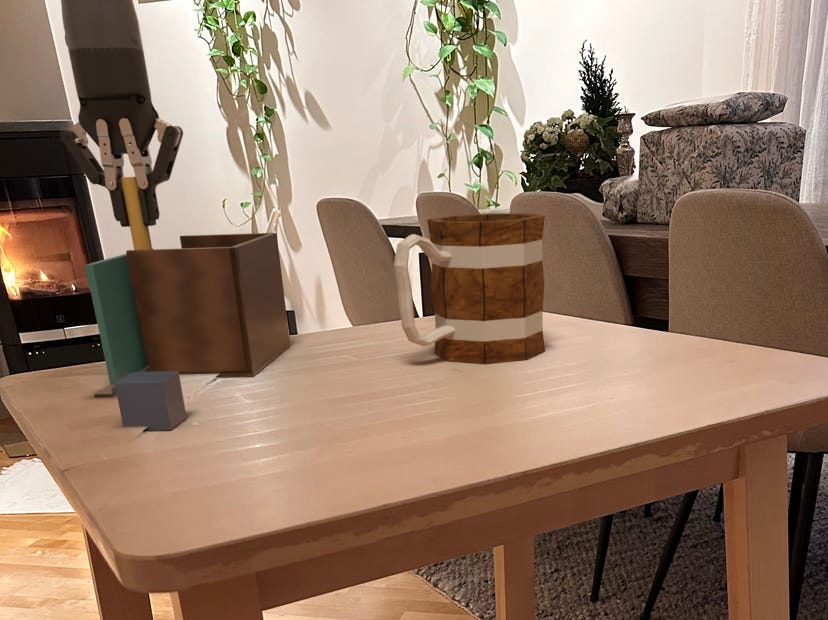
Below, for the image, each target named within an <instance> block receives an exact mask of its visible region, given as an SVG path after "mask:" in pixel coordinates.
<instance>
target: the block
mask: <svg viewBox="0 0 828 620" xmlns="http://www.w3.org/2000/svg"><path fill="white" fill-rule="evenodd" d="M114 384H115V389H116V394H117V395H116V398H117V402H118V408H119V413H120V418H121V422H122V427H123V428H137V427H138V428H139V427H141V428H142V427H143V428H144V427H145V428H144V429H143V430H142V432H155V431H156V432H160V431H161V432H164V431H167V432H168V431H173V429H175V428H176V427H178V426H179V425H180V424H181V423H182V422H183V421H185V420H186V419H187V418H188V417H187V412H186V406H185V401H184V400H185V399H184V394H183V389H182V382H181V377H180V375H179V372H178V371H158V372H132V373H130V374H129V375H127V376H125V377H124V378H122V379H120V380H118V381H117V382H115V383H114Z"/></svg>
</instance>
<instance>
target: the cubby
mask: <svg viewBox="0 0 828 620" xmlns="http://www.w3.org/2000/svg"><path fill="white" fill-rule="evenodd" d="M179 240H180V246H181V247H180V248H156V249H155V248H153V249H148V250H134V249H128V250H126V251H125V254H127V259H128V264H129V269H130V274H131V280H132V285H133V290H134V295H135V300H136V306H137V311H138V316H139V321H140V327H141V332H142V337H143V342H144V347H145V353H146V358H147V363H148V367H146V368H144V369H143V370H141V371H139V372H158V371H178V372H179V376H181V375H216V376H214V378H216V379H217V378H254V377H255V376H256V375H257V374H259V373H260V372H261V371H262V370H264V368H267V366H268V365H269V364H271V363H272V362H273V361H274V360H275V359H276V358H278V357H279V356H280V355H282V354H283V353H284V352H285V351H286V350H287V349H288V348H291V339H290V332H289V331H290V330H289V322H288V315H287V306H286V298H285V291H284V283H283V275H282V274H283V273H282V266H281V257H280V249H279V242H278V241H279V240H278V234H277V232H259V233H255V232H253V233H227V234H226V233H224V234H223V233H222V234H191V235H186V234H185V235H179ZM93 397H94V398H95V399H101V398H102V399H103V398H105V399H106V398H107V399H108V398H115V397H117V394H116V389H115V384H110V385H108V386H106V387H104V388H102V389H101V390H99V391H97V392H96V393H94V394H93Z"/></svg>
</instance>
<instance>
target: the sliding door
mask: <svg viewBox="0 0 828 620" xmlns="http://www.w3.org/2000/svg"><path fill="white" fill-rule="evenodd" d="M121 183H122V188H123V193H124V199H125V204H126V209H127V214H128V220H129V225H130V226H129V230H130V235H131V239H132V240H131V241H132V246H133V250H148V249H154V248H153V244H152V240H151V234H150V229H149V226H145V225H144V223H143V218H142V213H141V208H140V202H139V197H138V191H137V190H140V187H139V186H138V184H137V180H136V176H124V177H121ZM84 267H85V271H86V276H87V282H88V285H89V291H90V295H91V299H92V305H93V309H94V314H95V319H96V324H97V328H98V333H99V337H100V342H101V347H102V351H103V356H104V362H105V366H106V370H107V376H108V380H109V384H110V385H111V384H114V383H115V382H117V381H118V380H120V379H122V378H124V377H125V376H127V375H129V374H130V373H132V372H139V371H141V370H143V369H144V368H146V367H148V363H147V358H146V353H145V347H144V342H143V337H142V332H141V327H140V321H139V316H138V311H137V306H136V300H135V295H134V290H133V285H132V280H131V274H130V269H129V264H128V259H127V254H126V253H122V254H119V255H116V256H112V257H108V258H105V259H101V260H98V261H94V262H91V263H87V264H85V265H84Z"/></svg>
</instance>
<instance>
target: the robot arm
mask: <svg viewBox="0 0 828 620" xmlns="http://www.w3.org/2000/svg"><path fill="white" fill-rule="evenodd" d="M60 5H61V18H62V25H63V31H64V41H65V44H66V47H67V51H68V55H69V60H70V65H71V71H72V75H73V79H74V85H75V90H76V96H77V98H78V99H77V100H78V102H79V111H78V114H77V115H78V116H77V118H78V121H77V122H76V123H75V124H73V125H72V126H71V127H70V128H69V129H62V130H61V131H60V132H59V139H60V141H61V142H62V144H63V145H64V146H65V148H66V149H67V151H69V153H70V155H71V156H72V158H73V159H74V160H75V162H76V163H77V165H78V167H79V168H80V169H81V171H82V172H83V174H84V175H85V177H86V178H87V179H88V181H89V183H91V184H92V185H97V186H101V187H104V188H105V189H106V190H107V191H108V193H109V197H110V202H111V207H112V213H113V217H114V219H115V220H116V222H119V224H120V227H122V228H127V227H128V228H130V225H129V220H128V214H127V209H126V204H125V199H124V193H123V188H122V183H121V177H125V176H124V165H125V159H124V155H127V156H128V160H129V164H130V165H131V167H132V169H133V172H134V177H136V180H137V184H138V186H139V187H140V190H137V191H138V197H139V202H140V208H141V213H142V218H143V223H144V225H145V226H148V227H152V226H156V225H157V220H159V219H160V209H159V205H158V204H159V203H158V198H157V191H156V190H157V187H158V186H159V185H160V184H162V183H165V182H169V180H170V179H171V176H172V173H173V170H174V169H173V168H174V166H175V162H176V160H177V156H178V152H179V149H180V146H181V142H182V139H183V136H184V130H183V128H182V127H181V126H179V125H172V124H170V123H168V122H166V121H164V120H163V119H161V118H160V116H159V112H158V111H157V110H156V108H155V107H154V104H153V101H152V93H151V88H150V81H149V75H148V68H147V63H146V59H145V52H144V45H143V41H142V34H141V27H140V22H139V19H138V15H137V11H136V8H135V4H134V0H60ZM156 131H157V141H158V142H159V143H160V145H159V149H158V151H157V155H156V159H155V162H154V166H152V164H153V161H152V157H151V152H150V150H149V146H150V144H151V142H152V140H153V137H154V134H155V133H156ZM87 135H88V136H89V138H90V139H91V140H92V141H93V142H94V143H95V144H96V146H97V147H98V148H99V154H100V162H99V161H98V160H97V158H96V157H95V155H94V154H93V152H92V151H91V149H90V148H89V146H88V145H89V138H88V136H87ZM100 163H101V164H100Z"/></svg>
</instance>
